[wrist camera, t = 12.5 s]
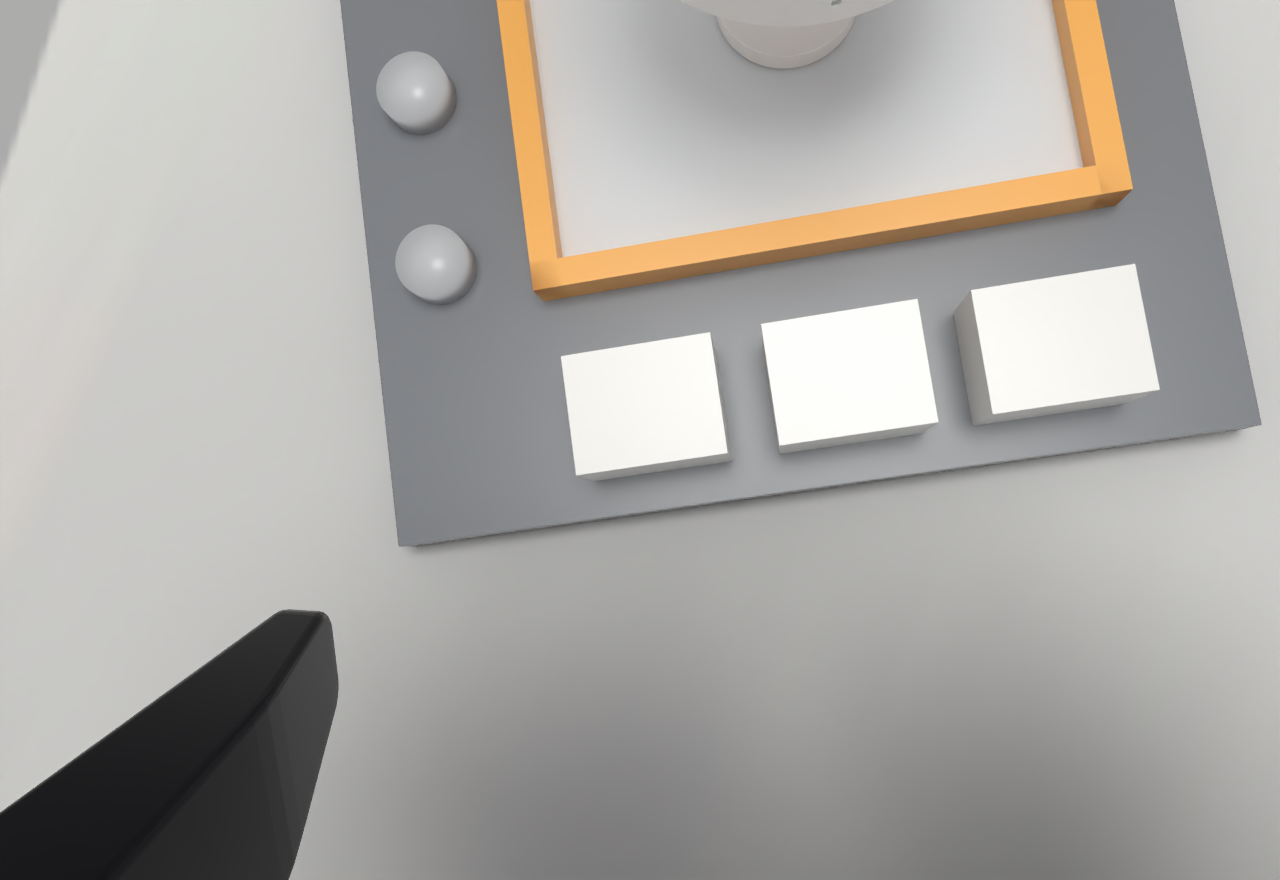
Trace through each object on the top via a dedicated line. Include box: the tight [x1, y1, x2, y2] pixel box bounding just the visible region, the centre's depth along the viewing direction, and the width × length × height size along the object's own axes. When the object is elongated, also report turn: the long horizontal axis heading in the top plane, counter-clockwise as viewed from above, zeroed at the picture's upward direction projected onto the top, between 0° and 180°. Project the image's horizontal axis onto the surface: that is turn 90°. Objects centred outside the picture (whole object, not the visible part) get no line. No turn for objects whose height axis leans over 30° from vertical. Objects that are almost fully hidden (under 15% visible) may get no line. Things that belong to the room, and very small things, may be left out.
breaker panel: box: [340, 0, 1261, 546], centre depth 22 cm, size 18×18×3 cm
